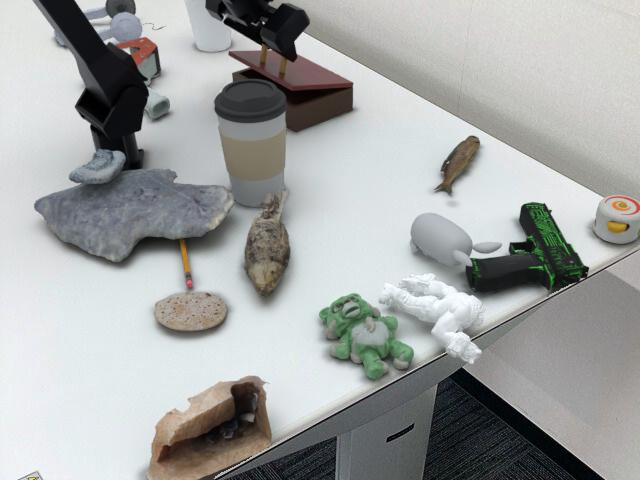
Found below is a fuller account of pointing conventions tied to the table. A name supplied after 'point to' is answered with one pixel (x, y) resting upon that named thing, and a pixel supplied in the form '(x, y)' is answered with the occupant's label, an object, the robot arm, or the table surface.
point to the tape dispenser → (148, 71)
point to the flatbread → (190, 311)
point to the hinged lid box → (307, 101)
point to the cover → (290, 70)
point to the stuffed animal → (364, 335)
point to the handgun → (530, 257)
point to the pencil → (186, 263)
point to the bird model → (268, 245)
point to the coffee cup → (253, 138)
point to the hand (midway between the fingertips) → (282, 53)
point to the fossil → (99, 168)
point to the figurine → (439, 311)
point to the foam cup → (207, 28)
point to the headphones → (116, 21)
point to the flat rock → (133, 211)
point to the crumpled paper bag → (211, 431)
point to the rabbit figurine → (445, 240)
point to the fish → (458, 160)
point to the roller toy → (618, 219)
